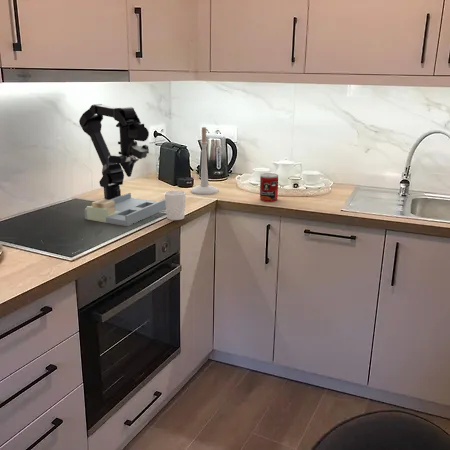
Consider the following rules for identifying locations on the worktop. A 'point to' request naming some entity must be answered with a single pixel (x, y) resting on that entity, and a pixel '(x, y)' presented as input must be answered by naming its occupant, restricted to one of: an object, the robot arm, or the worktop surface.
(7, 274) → the worktop surface
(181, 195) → the white cup
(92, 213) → the board
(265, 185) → the canned food
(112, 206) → the maple block
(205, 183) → the candlestick
